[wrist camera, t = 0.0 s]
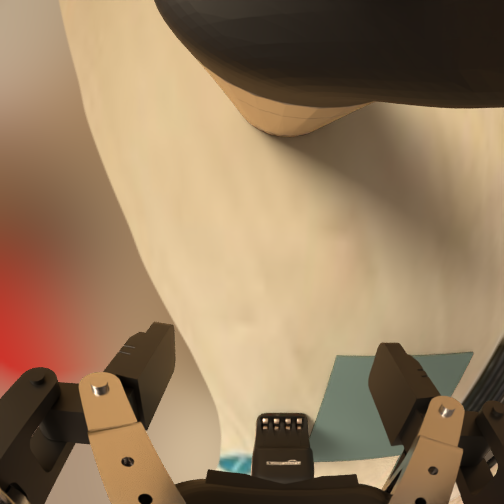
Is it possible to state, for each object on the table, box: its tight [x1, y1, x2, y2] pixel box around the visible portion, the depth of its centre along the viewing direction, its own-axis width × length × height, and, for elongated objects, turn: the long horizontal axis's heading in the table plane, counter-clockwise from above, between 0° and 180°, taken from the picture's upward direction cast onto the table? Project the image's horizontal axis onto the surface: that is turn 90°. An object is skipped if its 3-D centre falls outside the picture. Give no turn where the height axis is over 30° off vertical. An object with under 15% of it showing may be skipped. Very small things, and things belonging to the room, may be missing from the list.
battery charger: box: [251, 413, 314, 484], centre depth 29 cm, size 7×4×11 cm, turn 90°
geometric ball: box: [449, 482, 460, 501], centre depth 38 cm, size 8×8×8 cm
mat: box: [309, 352, 473, 462], centre depth 34 cm, size 22×20×1 cm
